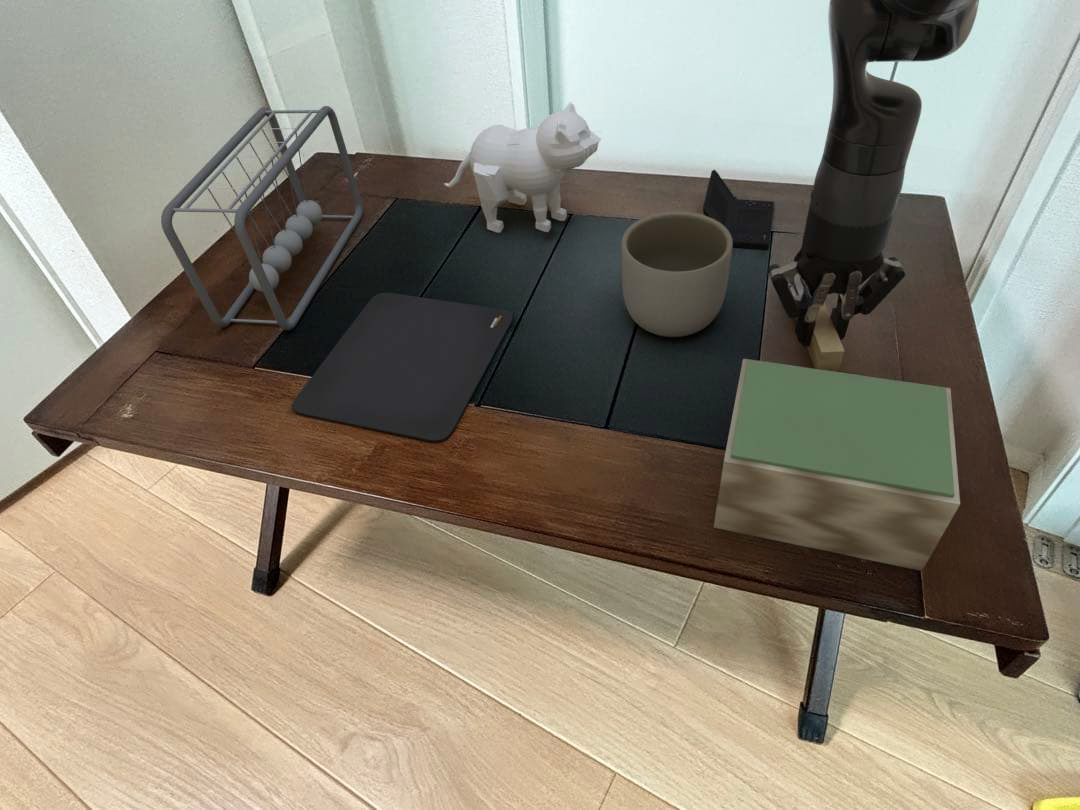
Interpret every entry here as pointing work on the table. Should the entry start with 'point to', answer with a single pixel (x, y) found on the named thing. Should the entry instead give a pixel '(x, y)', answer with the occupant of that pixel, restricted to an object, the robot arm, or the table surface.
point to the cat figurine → (528, 164)
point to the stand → (832, 507)
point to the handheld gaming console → (739, 215)
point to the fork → (821, 336)
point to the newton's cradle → (296, 225)
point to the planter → (675, 271)
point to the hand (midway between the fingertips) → (818, 340)
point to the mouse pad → (406, 366)
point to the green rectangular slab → (846, 427)
